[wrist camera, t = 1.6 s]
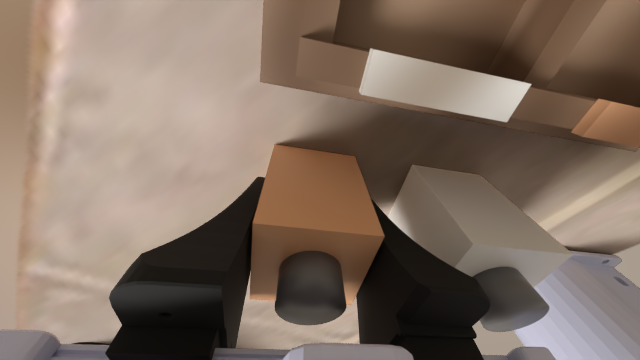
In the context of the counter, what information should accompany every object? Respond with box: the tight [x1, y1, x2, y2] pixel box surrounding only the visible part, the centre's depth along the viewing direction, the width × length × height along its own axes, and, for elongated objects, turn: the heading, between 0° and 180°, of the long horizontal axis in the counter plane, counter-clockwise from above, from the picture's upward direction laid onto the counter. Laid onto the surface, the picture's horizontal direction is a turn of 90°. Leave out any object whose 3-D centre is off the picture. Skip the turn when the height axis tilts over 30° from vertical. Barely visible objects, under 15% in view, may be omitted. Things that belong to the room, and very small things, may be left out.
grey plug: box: [388, 165, 573, 332], centre depth 12 cm, size 4×4×7 cm
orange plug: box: [250, 144, 385, 325], centre depth 11 cm, size 4×4×7 cm
